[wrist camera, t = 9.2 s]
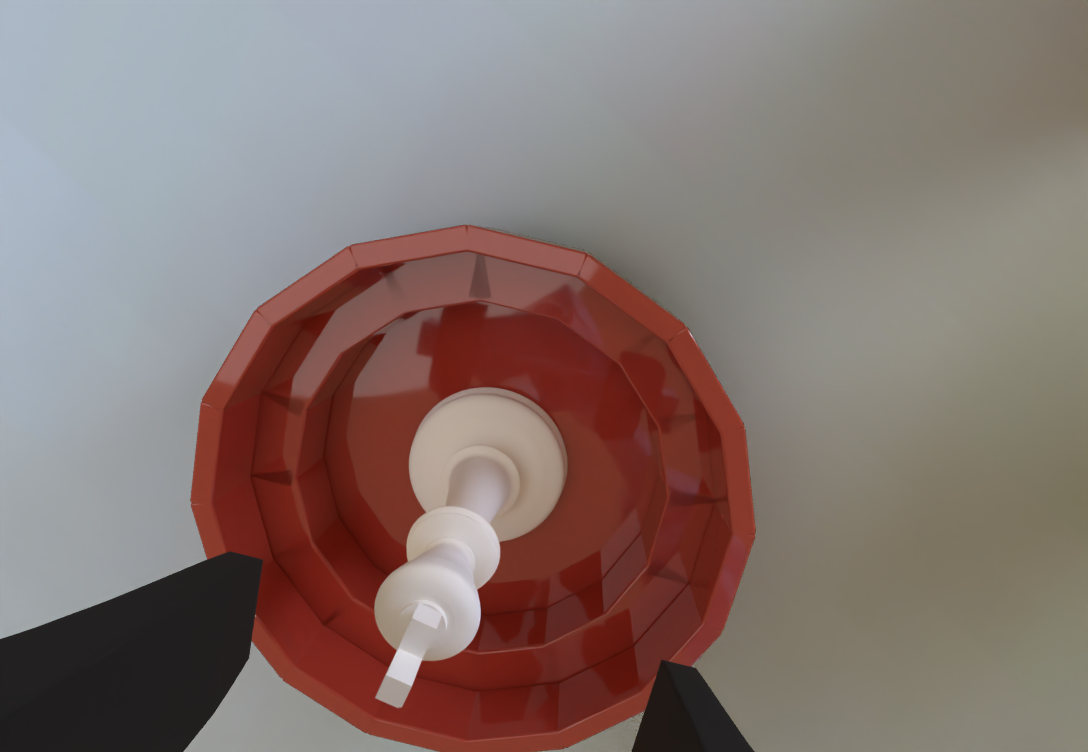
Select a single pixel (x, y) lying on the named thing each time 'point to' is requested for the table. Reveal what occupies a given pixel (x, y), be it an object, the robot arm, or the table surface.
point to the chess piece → (464, 521)
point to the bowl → (392, 508)
